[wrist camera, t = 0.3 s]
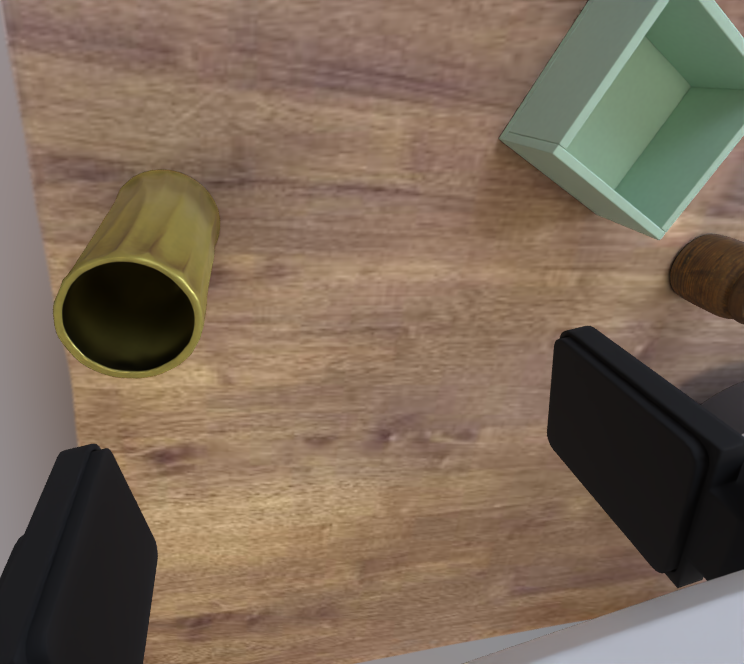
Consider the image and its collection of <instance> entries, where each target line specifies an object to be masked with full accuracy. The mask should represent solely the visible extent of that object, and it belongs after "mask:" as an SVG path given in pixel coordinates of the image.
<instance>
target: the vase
mask: <svg viewBox="0 0 744 664" xmlns="http://www.w3.org/2000/svg"><path fill="white" fill-rule="evenodd" d="M219 231H220V216H219V211H218V208H217V206H216V204H215V202H214V200H213V198H212V197H211V195H210V194H209V193H208V191H207V190H206V189H205V188H204V187H203V186H202V185H201V184H200V183H198V182H197V181H196V180H194V179H192V178H191V177H189V176H187V175H184V174H182V173H179V172H176V171H171V170H152V171H147V172H143V173H141V174H139V175H137V176H135V177H133V178H132V179H130V180H129V181H128V182H127V183H126V184H125V185H124V186H123V187H122V188H121V189H120V191H119V193H118V195H117V198H116V201H115V202H114V204H113V206H112V207H111V209H110V211H109V212H108V214H107V215H106V217H105V218H104V220H103V221H102V223H101V225H100V226H99V228H98V230H97V231H96V233H95V234H94V236H93V237H92V239H91V240H90V242H89V244H88V245H87V247H86V248H85V250H84V251H83V253H82V254H81V256H80V257H79V259H78V260H77V262H76V264H75V265H74V267H73V268H72V270H71V271H70V272H69V274H68V275H67V276H66V277H65V278H64V279H63V281H62V284H61V287H60V289H59V292H58V294H57V296H56V299H55V301H54V306H53V317H54V325H55V329H56V333H57V335H58V337H59V339H60V340H61V342H62V343H63V345H64V346H65V347H66V348H67V349H68V351H69V352H70V353H71V354H72V355H73V356H74V357H75V358H76V359H77V360H78V361H79V362H80V363H82V364H83V365H85V366H86V367H88V368H90V369H92V370H94V371H97V372H99V373H102V374H105V375H108V376H112V377H118V378H147V377H153V376H156V375H159V374H162V373H164V372H167V371H169V370H171V369H173V368H175V367H176V366H178V365H180V364H181V363H182V362H183V361H185V360H186V359H187V358H188V357H189V356H190V355H191V354H192V352H193V350H194V349H195V347H196V345H197V343H198V341H199V339H200V337H201V333H202V330H203V326H204V321H205V314H206V306H207V294H208V286H209V281H210V275H211V270H212V264H213V260H214V252H215V250H214V246H215V244H216V243H217V240H218V236H219Z"/></svg>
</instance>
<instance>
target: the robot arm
mask: <svg viewBox="0 0 744 664" xmlns="http://www.w3.org/2000/svg"><path fill="white" fill-rule="evenodd" d="M547 437H548V440H549V443H550V445H551V447H552V448H553V450H554V451H555V452H556V453H557V455H558V456H559V457H560V458H561V459H562V460H563V462H564V463H565V464H566V465H567V466H568V468H569V469H570V470H571V471H572V472H573V474H574V475H575V476H576V477H577V478H578V480H579V481H580V482H581V483H582V484H583V485H584V487H585V488H586V489H587V490H588V491H589V493H590V494H591V495H592V496H593V497H594V499H595V500H596V501H597V502H598V503H599V505H600V506H601V507H602V508H603V509H604V510H605V512H606V513H607V514H608V515H609V516H610V518H611V519H612V520H613V521H614V522H615V524H616V525H617V526H618V527H619V528H620V530H621V531H622V532H623V533H624V534H625V536H626V537H627V538H628V539H629V540H630V541H631V543H632V544H633V545H634V546H635V547H636V549H637V550H638V551H639V552H640V553H641V555H642V556H643V557H644V558H645V559H646V561H647V562H648V563H649V564H650V565H651V566H652V567H653V568H654V569H655V570H656V571H657V572H659V573H665V574H666V575H667V576H668V577H669V579H670V580H671V581H672V582H673V583H674V585H675V586H676V587H677V588H680V587H682V586H685V585H688V584H691V583H694V582H697V581H700V580H702V579H703V577H704V578H705V579H706V580H707V581H706V582H703V583H700V584H696V585H693V586H690V587H687V588H684V589H681V590H678V591H675V592H672V593H669V594H666V595H663V596H660V597H657V598H654V599H651V600H648V601H645V602H642V603H639V604H636V605H633V606H630V607H627V608H624V609H621V610H618V611H615V612H613V613H610V614H607V615H604V616H601V617H598V618H595V619H592V620H589V621H586V622H583V623H580V624H577V625H574V626H571V627H569V628H565V629H562V630H559V631H556V632H553V633H550V634H548V635H545V636H542V637H539V638H536V639H533V640H530V641H527V642H524V643H521V644H519V645H515V646H513V647H510V648H507V649H504V650H501V651H498V652H496V653H492V654H489V655H487V656H484V657H481V658H478V659H475V660H472V661H469V662H466V663H463V664H744V436H742V435H741V434H740V433H738V432H737V431H736V430H734V429H733V428H731V427H730V426H729V425H727V424H726V423H725V422H723V421H722V420H720V419H719V418H718V417H716V416H715V415H714V414H712V413H711V412H709V411H708V410H707V409H705V408H704V407H702V406H701V405H700V404H698V403H697V402H696V401H694V400H693V399H691V398H690V397H689V396H687V395H686V394H685V393H683V392H682V391H680V390H679V389H678V388H676V387H675V386H674V385H672V384H671V383H669V382H668V381H667V380H665V379H664V378H663V377H661V376H660V375H658V374H657V373H656V372H654V371H653V370H652V369H650V368H649V367H647V366H646V365H645V364H643V363H642V362H641V361H639V360H638V359H636V358H635V357H634V356H632V355H631V354H630V353H628V352H627V351H625V350H624V349H623V348H621V347H620V346H619V345H617V344H616V343H614V342H613V341H612V340H610V339H609V338H608V337H606V336H605V335H603V334H602V333H601V332H599V331H598V330H597V329H595V328H594V327H592V326H583V327H579V328H575V329H571V330H567V331H564V332H562V334H561V336H560V339H558V340H556V342H555V344H554V353H553V365H552V377H551V390H550V402H549V414H548V426H547ZM157 559H158V551H157V545H156V541H155V539H154V537H153V535H152V533H151V531H150V529H149V527H148V525H147V523H146V520H145V518H144V516H143V514H142V512H141V510H140V508H139V506H138V504H137V502H136V500H135V498H134V496H133V494H132V492H131V490H130V488H129V486H128V484H127V482H126V480H125V478H124V476H123V474H122V472H121V470H120V468H119V466H118V464H117V462H116V460H115V458H114V456H113V454H112V452H111V450H109V449H108V448H105V449H100V447H99V446H98V445H97V444H89V445H85V446H81V447H77V448H72V449H68V450H64V451H62V452H60V454H59V455H58V457H57V459H56V462H55V464H54V466H53V469H52V471H51V473H50V475H49V478H48V480H47V482H46V485H45V487H44V490H43V492H42V494H41V496H40V499H39V501H38V504H37V506H36V508H35V510H34V513H33V515H32V517H31V520H30V522H29V525H28V527H27V529H26V531H25V534H24V535H23V536H21V537H20V538H19V539H18V541H17V543H16V544H15V546H14V548H13V550H12V552H11V555H10V557H9V559H8V562H7V564H6V566H5V568H4V571H3V573H2V575H1V577H0V664H143V659H144V652H145V645H146V638H147V631H148V624H149V617H150V609H151V602H152V595H153V588H154V581H155V574H156V567H157Z"/></svg>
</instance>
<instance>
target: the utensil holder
mask: <svg viewBox="0 0 744 664" xmlns="http://www.w3.org/2000/svg"><path fill="white" fill-rule="evenodd" d="M670 281H671V285H672V288H673V290H674V291H675V292H676V293H677V294H678V295H679V296H681V297H682V298H684V299H685V300H687V301H689V302H691V303H692V304H694V305H696V306H698V307H700V308H702V309H704V310H706V311H708V312H710V313H712V314H714V315H717V316H719V317H723V318H727V319H734V320H736V321H737V322H739V323H741V324H744V242H742V241H739V240H736V239H733V238H730V237H727V236H723V235H717V234H709V235H704V236H701V237H699V238H697V239H695V240H693V241H692V242H690V243H689V244H688V245H687V246H686V247H685V248H684V249H683V250H682V251H681V252H680V253H679V255H678V256H677V258H676V260H675V262H674V264H673V266H672V269H671V275H670Z"/></svg>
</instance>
